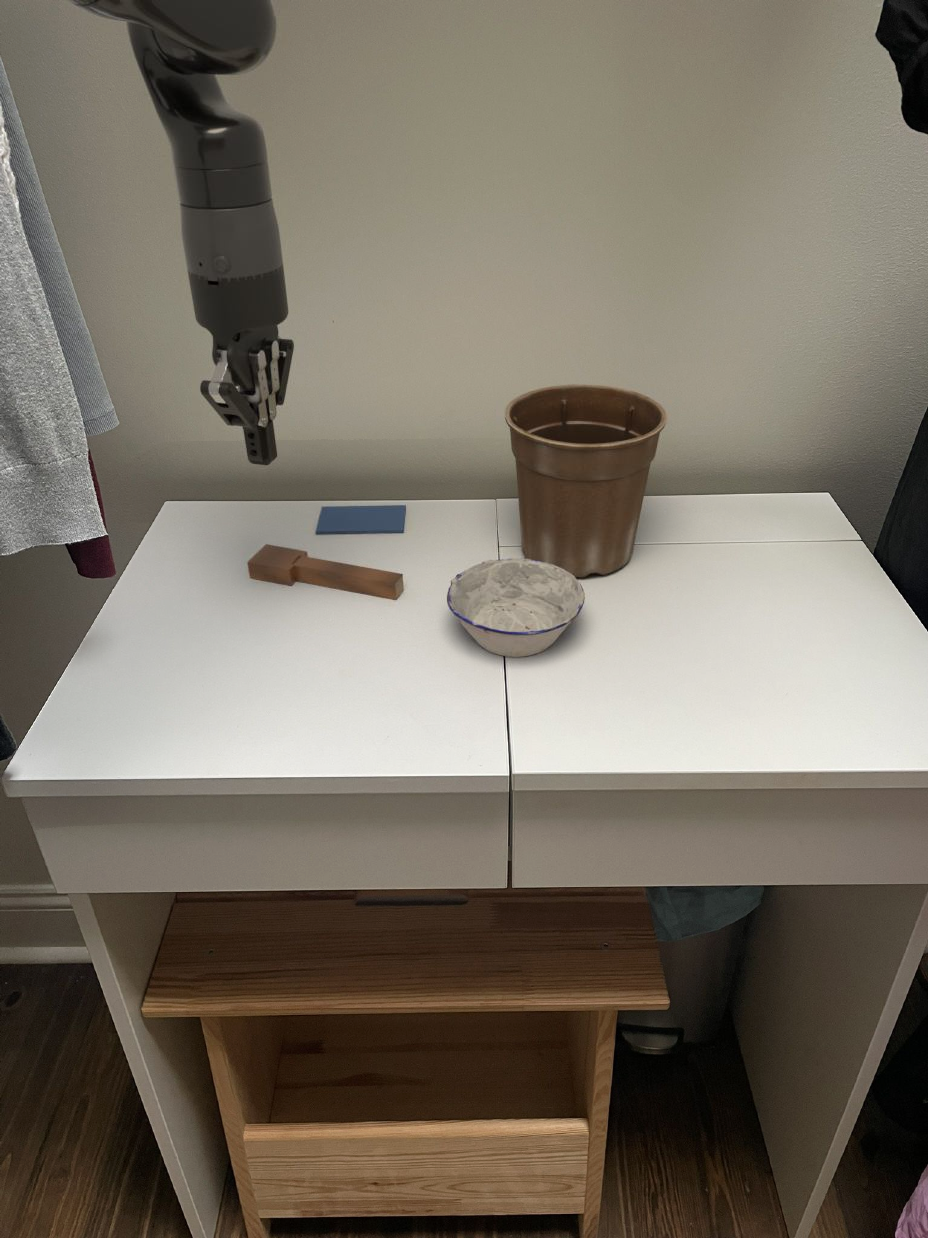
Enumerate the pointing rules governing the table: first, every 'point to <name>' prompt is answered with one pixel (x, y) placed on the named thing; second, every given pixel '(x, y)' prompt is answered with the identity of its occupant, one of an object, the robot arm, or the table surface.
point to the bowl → (515, 604)
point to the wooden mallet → (322, 572)
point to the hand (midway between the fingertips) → (263, 461)
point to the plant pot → (582, 472)
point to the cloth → (361, 519)
